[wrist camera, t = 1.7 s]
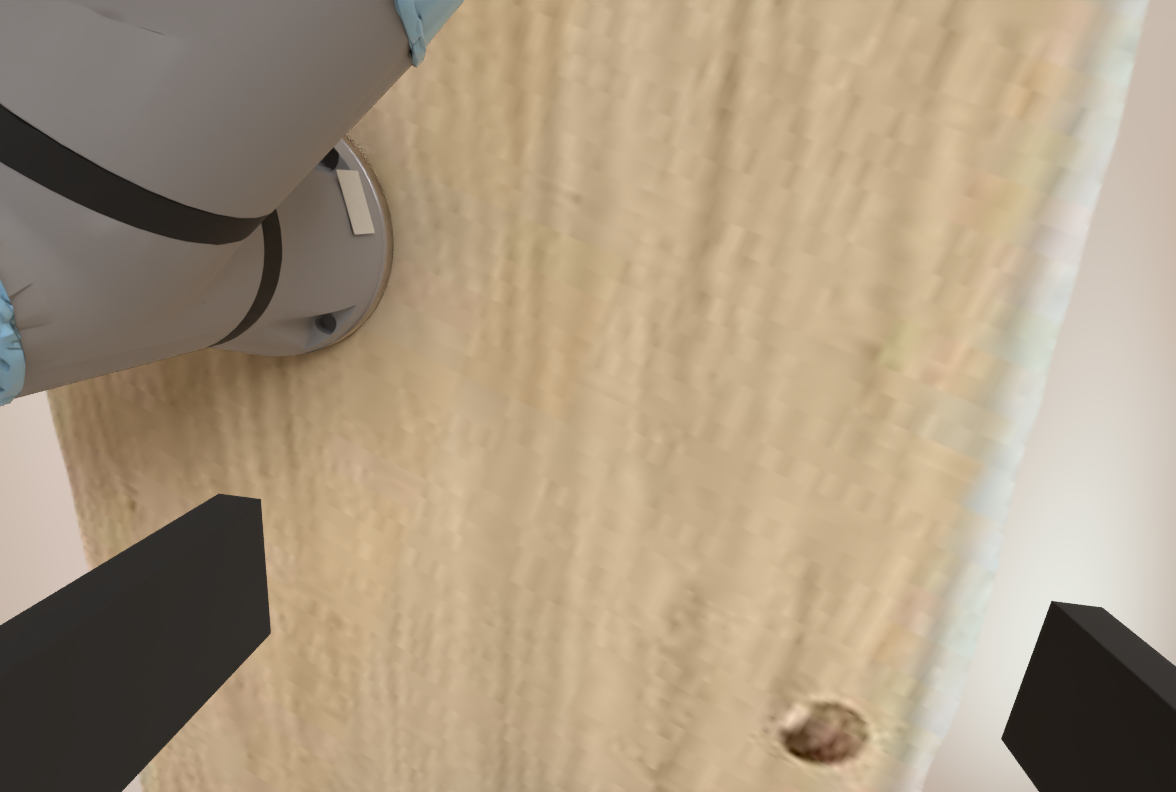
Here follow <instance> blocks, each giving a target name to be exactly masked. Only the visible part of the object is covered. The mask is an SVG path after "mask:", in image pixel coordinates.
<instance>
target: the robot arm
mask: <svg viewBox="0 0 1176 792" xmlns="http://www.w3.org/2000/svg"><path fill="white" fill-rule="evenodd" d="M463 1H464V0H0V406H4V404H9V403H11V401H12V400H13V399H14V398H18V397H22V396H26V395H29V394H34V393H37V392H41V391H45V390H49V389H53V388H56V387H60V386H64V385H68V384H72V383H76V382H79V381H83V380H87V379H91V378H95V377H98V376H102V375H106V374H110V373H114V372H117V371H121V370H125V369H129V368H133V367H136V366H140V365H144V364H148V363H152V362H155V361H159V360H163V359H167V358H171V357H174V356H178V355H182V354H186V353H190V352H193V351H197V350H201V349H204V348H208V347H211V348H217V349H223V350H229V351H235V352H241V353H247V354H253V355H260V356H290V355H299V354H304V353H309V352H312V351H316V350H319V349H322V348H325V347H327V346H330V345H332V344H335V343H337V342H339V341H341V340H343V339H344V338H346V337H348V336H349V335H350V334H352V333H353V332H354V331H356V330H357V329H358V328H359V327H360V326H361V325H362V324H363V323H364V322H365V321H366V320H367V319H368V318H369V316H370V315H371V314H372V313H373V311H374V310H375V308H376V307H377V305H378V303H379V301H380V299H381V298H382V296H383V293H384V291H385V288H386V286H387V283H388V279H389V276H390V271H391V266H392V258H393V231H392V223H391V217H390V212H389V209H388V205H387V202H386V198H385V196H384V193H383V190H382V188H381V186H380V184H379V181H378V179H377V177H376V175H375V173H374V172H373V170H372V168H371V167H370V165H369V163H368V162H367V161H366V159H365V158H364V156H363V155H362V153H361V152H360V151H359V150H358V149H357V147H356V146H355V145H354V144H353V143H352V142H351V141H350V140H349V139H348V138H347V137H346V136H345V135H346V134H347V133H348V132H349V130H350V129H351V128H352V127H353V126H354V125H355V124H356V123H357V122H358V121H359V120H360V119H361V118H362V117H363V116H364V115H365V114H366V113H367V112H368V110H369V109H370V108H371V107H372V106H373V105H374V104H375V103H376V102H377V101H378V100H379V99H380V98H381V97H382V96H383V95H384V94H385V93H386V92H387V91H388V89H389V88H390V87H391V86H392V85H393V84H394V83H395V82H396V81H397V80H398V79H399V78H400V77H401V76H402V75H403V74H404V73H405V72H406V71H407V70H408V68H409V67H410V66H411V65H413V66H414V67H417V66H418V65H419V64H421V62H422V61H423V59H424V56H425V52H426V46H427V45H428V44H429V42H430V41H431V40H432V39H433V37H434V36H435V35H436V34H437V33H438V31H439V30H440V29H441V28H442V27H443V25H444V24H445V23H446V22H447V21H448V19H449V18H450V17H451V16H452V15H453V13H454V12H455V11H456V10H457V9H458V7H459V6H460V5H461V4H462V3H463ZM270 634H271V629H270V616H269V603H268V590H267V576H266V563H265V550H264V537H263V524H262V510H261V499H255V498H247V497H240V496H232V495H224V494H218V495H216V496H214V497H213V498H211V499H209V500H208V501H206V502H204V503H203V504H201V505H199V506H198V507H196V508H194V509H193V510H191V511H189V512H188V513H186V514H184V515H183V516H181V517H179V518H178V519H176V520H174V521H173V522H171V523H169V524H168V525H166V526H164V527H163V528H161V529H159V530H158V531H156V532H154V533H153V534H151V535H149V536H148V537H146V538H145V539H143V540H141V541H140V542H138V543H136V544H135V545H133V546H131V547H130V548H128V549H126V550H125V551H123V552H121V553H120V554H118V555H116V556H115V557H113V558H111V559H110V560H108V561H106V562H105V563H103V564H101V565H100V566H98V567H96V568H95V569H93V570H91V571H90V572H88V573H86V574H85V575H83V576H81V577H80V578H78V579H77V580H75V581H73V582H72V583H70V584H68V585H67V586H65V587H63V588H62V589H60V590H58V591H57V592H55V593H53V594H52V595H50V596H48V597H47V598H45V599H43V600H42V601H40V602H38V603H37V604H35V605H33V606H32V607H30V608H28V609H27V610H25V611H23V612H22V613H20V614H19V615H17V616H15V617H14V618H12V619H10V620H8V621H7V622H5V623H3V624H2V625H0V792H122V791H123V790H124V789H125V788H126V787H127V785H128V784H129V783H130V782H131V781H132V780H133V779H134V778H135V777H136V776H137V775H138V774H139V773H140V772H141V771H142V770H143V769H144V767H145V766H146V765H147V764H148V763H149V762H150V761H151V760H152V759H153V758H154V757H155V756H156V755H157V754H158V753H159V752H160V750H161V749H162V748H163V747H164V746H165V745H166V744H167V743H168V742H169V741H170V740H171V739H172V738H173V737H174V736H175V735H176V733H177V732H178V731H179V730H180V729H181V728H182V727H183V726H184V725H185V724H186V723H187V722H188V721H189V720H190V719H191V718H192V716H193V715H194V714H195V713H196V712H197V711H198V710H199V709H200V708H201V707H202V706H203V705H204V704H205V703H206V702H207V701H208V699H209V698H210V697H211V696H212V695H213V694H214V693H215V692H216V691H217V690H218V689H219V688H220V687H221V686H222V685H223V684H224V682H225V681H226V680H227V679H228V678H229V677H230V676H231V675H232V674H233V673H234V672H235V671H236V670H237V669H238V668H239V667H240V665H241V664H242V663H243V662H244V661H245V660H246V659H247V658H248V657H249V656H250V655H251V654H252V653H253V652H254V651H255V650H256V648H257V647H258V646H259V645H260V644H261V643H262V642H263V641H264V640H265V639H266V638H267V637H268V636H269V635H270ZM1001 739H1002V741H1003V742H1004V743H1005V745H1006V746H1007V748H1008V749H1009V750H1010V752H1011V753H1012V755H1013V756H1014V757H1015V759H1016V760H1017V762H1018V763H1019V764H1020V766H1021V767H1022V769H1023V770H1024V771H1025V773H1026V774H1027V775H1028V777H1029V778H1030V780H1031V781H1032V782H1033V784H1034V785H1035V787H1036V788H1037V789H1038V791H1039V792H1176V666H1174V665H1173V664H1172V663H1171V662H1169V661H1168V660H1167V659H1166V658H1164V657H1163V656H1162V655H1161V654H1160V653H1158V652H1157V651H1156V650H1154V649H1153V648H1152V647H1151V646H1150V645H1148V644H1147V643H1146V642H1144V641H1143V640H1142V639H1141V638H1140V637H1138V636H1137V635H1136V634H1135V633H1133V632H1132V631H1131V630H1130V629H1128V628H1127V627H1126V626H1125V625H1123V624H1122V623H1121V622H1119V621H1118V620H1117V619H1116V618H1114V617H1113V616H1112V615H1111V614H1109V613H1108V612H1107V611H1106V610H1105V609H1103V608H1102V607H1093V606H1086V605H1078V604H1071V603H1063V602H1055V601H1051V604H1050V607H1049V610H1048V612H1047V615H1046V618H1045V621H1044V623H1043V626H1042V629H1041V631H1040V634H1039V637H1038V640H1037V642H1036V645H1035V648H1034V651H1033V653H1032V656H1031V659H1030V662H1029V664H1028V667H1027V670H1026V672H1025V675H1024V678H1023V681H1022V684H1021V686H1020V689H1019V692H1018V695H1017V697H1016V700H1015V703H1014V705H1013V708H1012V711H1011V713H1010V716H1009V720H1008V722H1007V724H1006V727H1005V730H1004V733H1003V735H1002V738H1001Z"/></svg>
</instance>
